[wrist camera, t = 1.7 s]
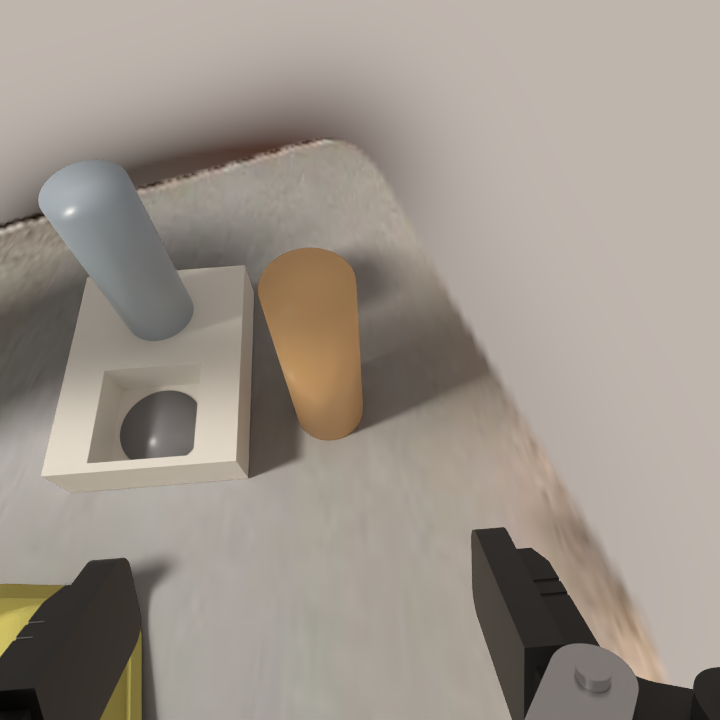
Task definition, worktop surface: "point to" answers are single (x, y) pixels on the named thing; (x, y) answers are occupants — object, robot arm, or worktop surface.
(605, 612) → the worktop surface
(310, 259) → the tan round-top capsule
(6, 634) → the plastic component
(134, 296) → the housing
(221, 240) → the worktop surface
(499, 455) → the worktop surface
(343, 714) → the worktop surface
